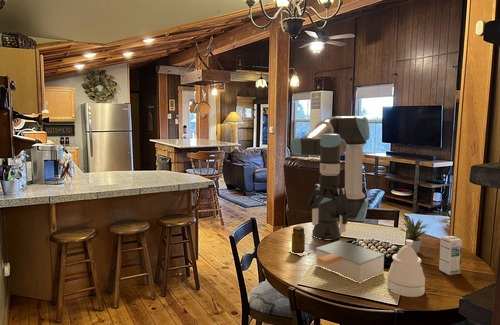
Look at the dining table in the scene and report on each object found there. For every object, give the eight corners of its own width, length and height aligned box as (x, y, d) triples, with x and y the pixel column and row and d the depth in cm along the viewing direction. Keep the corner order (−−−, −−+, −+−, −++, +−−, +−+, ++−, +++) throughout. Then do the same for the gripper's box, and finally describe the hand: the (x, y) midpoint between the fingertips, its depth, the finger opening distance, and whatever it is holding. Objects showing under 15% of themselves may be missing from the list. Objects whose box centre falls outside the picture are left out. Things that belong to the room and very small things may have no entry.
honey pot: (393, 278, 147) (395, 234, 145) (428, 287, 139) (431, 241, 137) (382, 289, 137) (384, 242, 135) (418, 300, 129) (421, 250, 127)
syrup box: (449, 275, 150) (451, 240, 148) (438, 269, 155) (440, 236, 154) (460, 273, 151) (463, 239, 149) (449, 268, 157) (451, 235, 155)
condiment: (298, 249, 181) (298, 225, 179) (311, 253, 174) (311, 228, 173) (287, 252, 176) (287, 227, 175) (300, 257, 170) (301, 231, 168)
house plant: (425, 260, 166) (427, 224, 164) (393, 253, 174) (395, 219, 172) (432, 251, 177) (434, 217, 175) (402, 245, 186) (403, 213, 184)
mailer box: (316, 266, 159) (316, 249, 158) (340, 257, 169) (340, 241, 168) (359, 283, 142) (360, 265, 141) (383, 273, 152) (384, 255, 151)
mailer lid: (300, 256, 153) (300, 251, 153) (340, 243, 168) (340, 239, 168) (345, 273, 135) (345, 268, 135) (384, 257, 151) (384, 253, 151)
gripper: (299, 171, 150) (298, 222, 152) (350, 178, 130) (348, 237, 132) (311, 170, 154) (311, 219, 156) (363, 177, 135) (361, 233, 137)
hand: (328, 228), depth 144 cm, fingers open, 13 cm apart
